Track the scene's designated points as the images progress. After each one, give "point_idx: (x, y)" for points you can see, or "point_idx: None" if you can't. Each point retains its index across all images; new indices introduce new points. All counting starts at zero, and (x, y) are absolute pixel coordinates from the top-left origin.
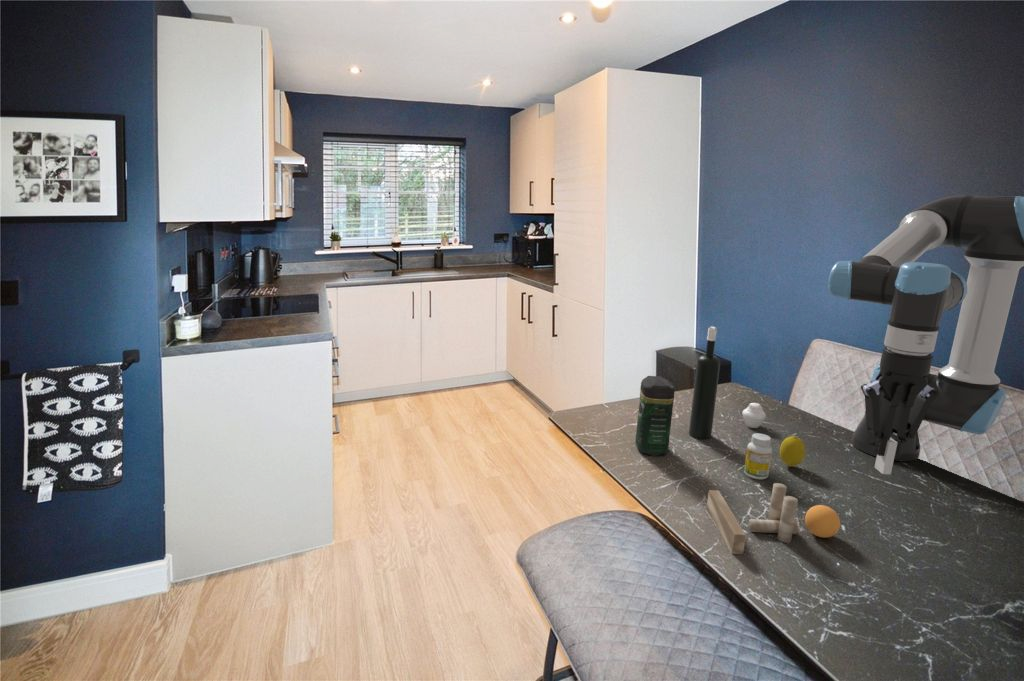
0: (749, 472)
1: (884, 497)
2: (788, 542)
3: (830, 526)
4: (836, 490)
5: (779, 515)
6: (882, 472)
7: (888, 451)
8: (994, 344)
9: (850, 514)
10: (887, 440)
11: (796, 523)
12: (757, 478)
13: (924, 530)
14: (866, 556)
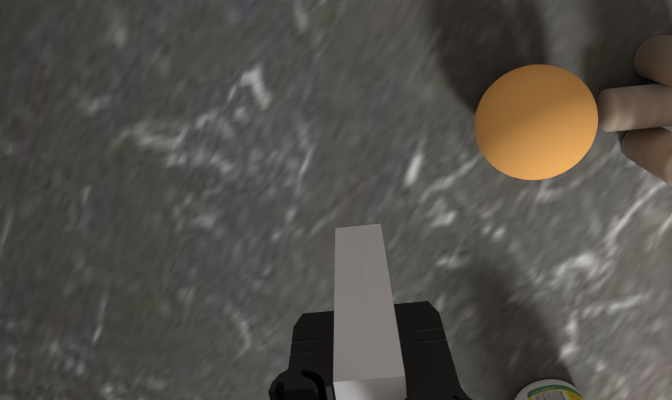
0: (581, 397)
1: (215, 349)
2: (654, 36)
3: (541, 70)
4: None
5: (670, 137)
6: (381, 231)
7: (388, 315)
8: None
9: None
10: (420, 388)
11: (619, 109)
12: (556, 380)
13: (162, 199)
14: (415, 3)
